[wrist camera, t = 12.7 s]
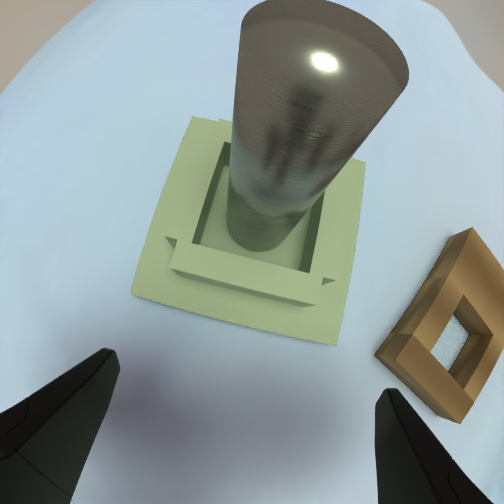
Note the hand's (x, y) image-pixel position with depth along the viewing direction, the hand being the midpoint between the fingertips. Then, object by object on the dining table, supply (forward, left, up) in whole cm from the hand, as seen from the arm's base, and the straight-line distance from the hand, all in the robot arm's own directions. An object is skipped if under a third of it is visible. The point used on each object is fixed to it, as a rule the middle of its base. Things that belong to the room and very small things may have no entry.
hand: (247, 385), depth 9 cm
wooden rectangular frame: (+17, -4, -10) cm, 20 cm away
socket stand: (+3, +8, -10) cm, 13 cm away
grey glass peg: (+3, +8, -9) cm, 12 cm away
